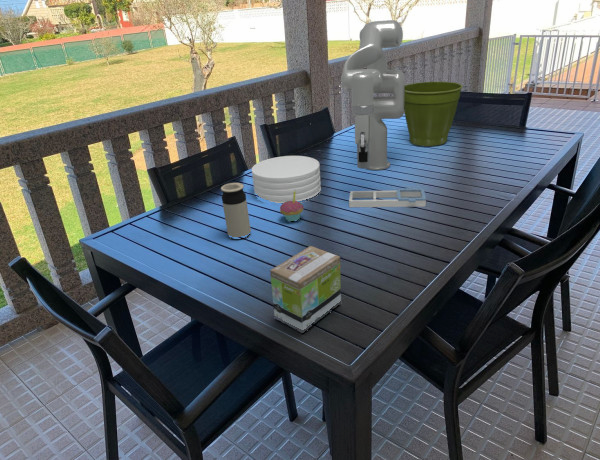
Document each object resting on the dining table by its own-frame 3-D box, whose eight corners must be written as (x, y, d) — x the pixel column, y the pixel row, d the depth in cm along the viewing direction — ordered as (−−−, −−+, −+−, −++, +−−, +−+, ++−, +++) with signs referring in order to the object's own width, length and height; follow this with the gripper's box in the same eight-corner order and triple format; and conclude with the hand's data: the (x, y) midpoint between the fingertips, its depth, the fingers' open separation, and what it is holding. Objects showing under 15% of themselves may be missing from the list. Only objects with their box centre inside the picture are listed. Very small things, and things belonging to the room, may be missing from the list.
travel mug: (241, 242, 149) (233, 192, 141) (223, 237, 153) (215, 189, 145) (255, 232, 155) (249, 184, 147) (238, 228, 159) (230, 181, 151)
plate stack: (330, 183, 193) (329, 157, 188) (304, 208, 170) (302, 180, 165) (274, 178, 204) (271, 154, 199) (242, 201, 182) (238, 174, 177)
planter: (356, 165, 167) (355, 138, 162) (368, 164, 167) (367, 137, 162) (358, 169, 163) (358, 141, 158) (370, 167, 163) (370, 140, 158)
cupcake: (307, 215, 164) (304, 185, 158) (299, 225, 157) (297, 194, 151) (285, 214, 167) (282, 184, 161) (277, 224, 159) (273, 193, 154)
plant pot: (398, 136, 251) (399, 83, 238) (452, 133, 246) (456, 80, 234) (401, 151, 225) (403, 93, 212) (462, 149, 220) (467, 89, 207)
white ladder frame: (350, 195, 178) (350, 188, 176) (422, 194, 173) (423, 187, 172) (349, 208, 166) (348, 201, 165) (426, 208, 162) (426, 200, 160)
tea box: (304, 336, 104) (299, 283, 97) (274, 320, 110) (267, 269, 103) (342, 304, 113) (340, 254, 107) (312, 291, 120) (309, 243, 113)
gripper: (353, 105, 164) (354, 153, 172) (350, 115, 149) (352, 167, 157) (373, 104, 162) (373, 152, 171) (373, 114, 148) (373, 167, 156)
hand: (363, 159), depth 164 cm, fingers closed on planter, 4 cm apart
